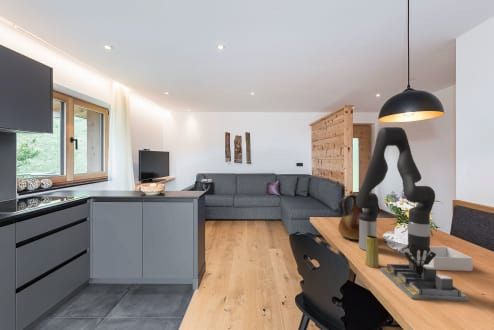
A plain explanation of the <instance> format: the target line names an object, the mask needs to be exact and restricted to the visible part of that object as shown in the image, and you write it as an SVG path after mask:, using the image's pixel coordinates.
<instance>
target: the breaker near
mask: <svg viewBox="0 0 494 330" xmlns="http://www.w3.org/2000/svg"><path fill="white" fill-rule="evenodd" d="M453 283H454V280H453V278H452V277H451V276H450V275H447V274H436V289H451V290H453V286H454V284H453Z"/></svg>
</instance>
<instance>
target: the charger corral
mask: <svg viewBox="0 0 494 330" xmlns="http://www.w3.org/2000/svg"><path fill="white" fill-rule="evenodd" d="M429 247H430V250H431V251H432V252H434V253H436V256H435V257H434V258H433V259H432V260H431V261H430V263H429V264H428V265H431V266H433V267H434V268H436V271H469V272H472V271H473V270H474V269H473V264H474V263H473V261H474V259H473V257H470V256H469V255H466V254H465V253H462V252H460V251H457V250H455V249H453V248H451V247H449V246H436V245H433V246H431V245H430V246H429ZM425 265H426V264H425Z"/></svg>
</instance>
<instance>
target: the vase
mask: <svg viewBox="0 0 494 330" xmlns="http://www.w3.org/2000/svg"><path fill="white" fill-rule="evenodd" d="M365 251H366V252H365V260H364V264H365V265H366V266H367V267H369V268H376V269H377V268H379V266H380V264H379V263H380V262H379V261H380V260H379V237H378V236H377V235H376V236H373V235H367V236H366V250H365Z"/></svg>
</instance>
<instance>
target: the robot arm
mask: <svg viewBox="0 0 494 330" xmlns="http://www.w3.org/2000/svg"><path fill="white" fill-rule="evenodd" d="M388 146H389V147H394V146H395V147H396V148H397V149H398V153H399V155H398V158H397V163H396V166H397V167H396V168H397V171H398V173H399V175H400V177H401V179H402V180H401V181H402V188H403V189H402V190H403V196H404V198H405V199H406V200H407V201H408V202H409V203H412V204H415V203H416V206H414V207H411V208H409V210H408V222H407V223H408V225H407V243H408V244H407V247H406V248H405V250H404V249H403V250H401V253H402V254H403V255H404V257H405V258H406V260H407V261H408V263H409V262H411V263H412V264H414V271H415V273H417V274H422V273H423V266H424V265H425V264H426V265H428V264H429V263H430V261H431V260H432V259H433V258H434V257H435V256H436V253H434V252H432V251H431V250H430V247H429V246H431V226H430V224H431V221H430V220H431V211H432V209H433V206H434V204H435V201H436V192H435V191H434V189H433V188H432V187H431V186H429V185H417V184H416V183H419V182H420V181H422V175H421V173H420V171H419V169H418V167H417V166H418V165H416V162H415V160H414V157H413V154H412V151H411V147H410V143H409V139H408V136H407V133H406V131H405V130H404V128H403V127H400V126H390V127H389V126H386V127H385V126H384V127H381V128H380V129H379V131H378V132H377V136H376V139H375V143H374V147H373V148H374V149H373V152H372V155H371V158H370V162H369V165H368V167H367V169H366V173H365V176H364V179H363V182H362V183H361V186H360V189H358V192H357V194H356V195H357V197H356V205H357V206H358V207H359V208H363V210H364V209H366V210H365V211H363V213H361V214H360V215H359V240H358V249H359V248H360V249H361V250H364V251H366V236H367V235H373V236H377V231H378V230H377V227H378V226H377V222H378V221H377V219H378V215H379V198H378V195H377V194H376V193H375V192H372V191H373V190H374V189H375V188H376V187H378V185H380V184H382V182H383V181H384V180H385V178H386V176H387V173H388V171H389V170H388V169H389V167H388V163H387V160H386V158H385V153H386V149H387V147H388ZM412 258H413V259H412Z"/></svg>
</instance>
